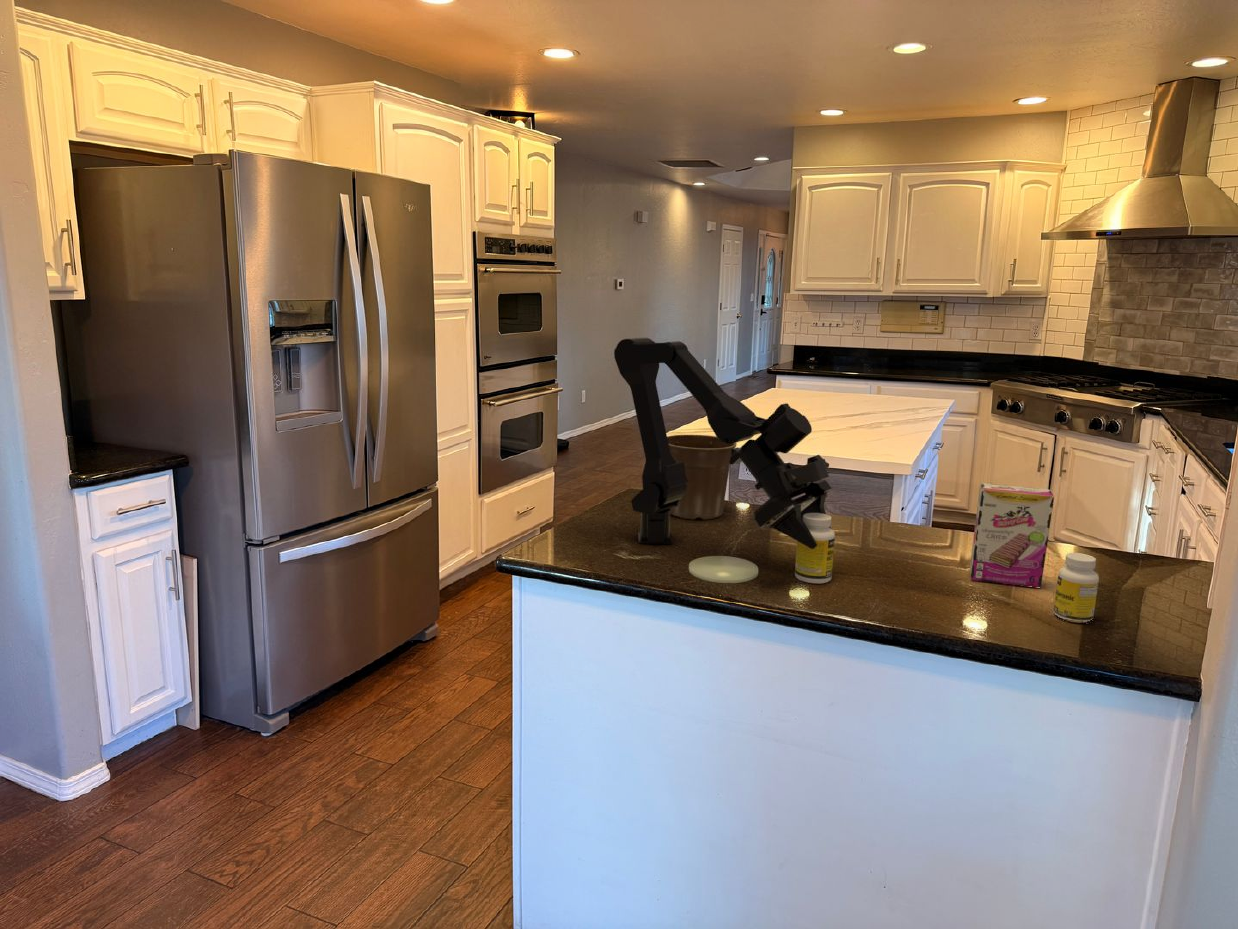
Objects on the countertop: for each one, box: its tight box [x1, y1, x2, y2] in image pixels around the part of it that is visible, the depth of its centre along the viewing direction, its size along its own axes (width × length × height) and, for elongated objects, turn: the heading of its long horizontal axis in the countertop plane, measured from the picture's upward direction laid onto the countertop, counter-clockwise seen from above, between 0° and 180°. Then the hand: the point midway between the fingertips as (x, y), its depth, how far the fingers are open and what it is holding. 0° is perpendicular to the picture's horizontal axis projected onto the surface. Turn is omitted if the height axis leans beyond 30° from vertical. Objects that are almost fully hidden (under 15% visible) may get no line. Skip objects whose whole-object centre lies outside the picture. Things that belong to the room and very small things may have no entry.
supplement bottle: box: [1053, 552, 1100, 622], centre depth 126 cm, size 5×5×10 cm
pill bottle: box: [794, 513, 836, 585], centre depth 141 cm, size 6×6×11 cm
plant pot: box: [667, 434, 738, 521], centre depth 181 cm, size 16×16×16 cm
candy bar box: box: [969, 482, 1055, 588], centre depth 141 cm, size 11×5×16 cm, turn 71°
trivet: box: [688, 555, 759, 584], centre depth 145 cm, size 12×12×1 cm
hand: (823, 543), depth 140 cm, fingers closed on pill bottle, 6 cm apart
